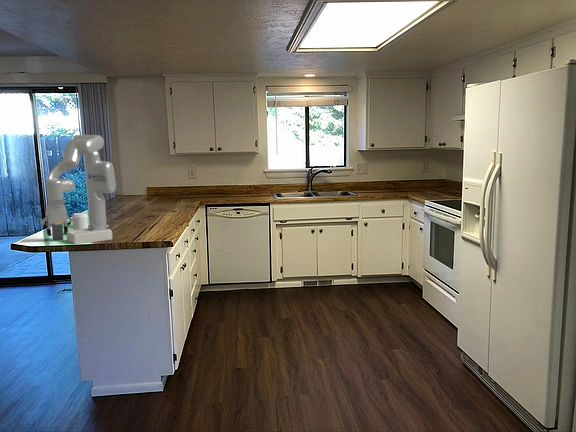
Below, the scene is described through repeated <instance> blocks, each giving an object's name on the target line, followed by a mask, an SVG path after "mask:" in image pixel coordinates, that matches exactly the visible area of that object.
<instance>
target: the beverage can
mask: <svg viewBox="0 0 576 432" xmlns="http://www.w3.org/2000/svg"><path fill="white" fill-rule="evenodd" d="M71 218H72V219H73V221H72V230H77V229H87V228H88V226H89V219H88V218H89V217H88V214H87V213H85V212H82V213H81V212H80V213H79V212H76V213H72V217H71Z"/></svg>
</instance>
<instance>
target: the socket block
mask: <svg viewBox="0 0 576 432" xmlns="http://www.w3.org/2000/svg"><path fill="white" fill-rule="evenodd" d="M96 228H104V227H96ZM89 229H90V228H87V229H77V230H73V229H68V232H67V234H66V241H67V242H70V243H71V244H74V245H79V244H87V243H94V242H101V241H110V240H111V241H112V240H113V229H112V230H111V228H105V229H103V230H93V231H91V230H89Z"/></svg>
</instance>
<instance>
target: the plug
mask: <svg viewBox="0 0 576 432" xmlns="http://www.w3.org/2000/svg"><path fill="white" fill-rule="evenodd" d="M51 236H52V241H54V240H55V241H54V242H60V241H59V240H62V241H64V224H63V223H62V222H59V223H54V224H52V225H51Z"/></svg>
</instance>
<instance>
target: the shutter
mask: <svg viewBox="0 0 576 432" xmlns="http://www.w3.org/2000/svg"><path fill="white" fill-rule="evenodd" d="M89 225H90V229H89V230H91V231H93V230H103V229H105V228H96V225H93V224H90V223H89Z"/></svg>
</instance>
